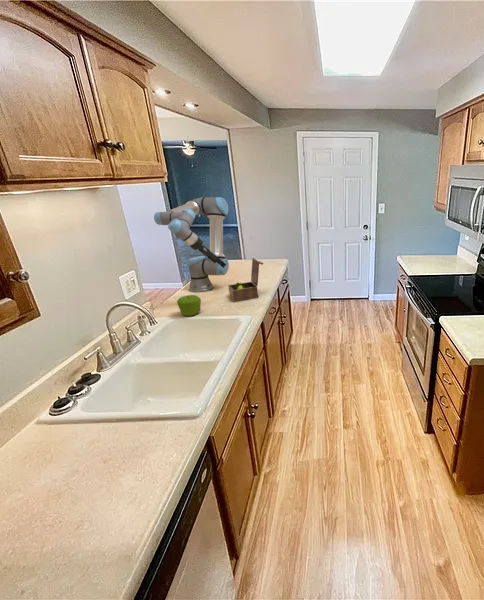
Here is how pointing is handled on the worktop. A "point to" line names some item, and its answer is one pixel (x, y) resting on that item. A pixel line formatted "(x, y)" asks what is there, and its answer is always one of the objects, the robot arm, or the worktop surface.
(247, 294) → the chest
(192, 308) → the apple
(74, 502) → the worktop surface
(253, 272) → the lid
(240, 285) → the lemon
